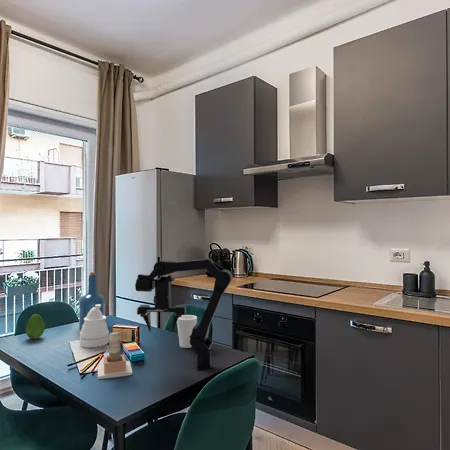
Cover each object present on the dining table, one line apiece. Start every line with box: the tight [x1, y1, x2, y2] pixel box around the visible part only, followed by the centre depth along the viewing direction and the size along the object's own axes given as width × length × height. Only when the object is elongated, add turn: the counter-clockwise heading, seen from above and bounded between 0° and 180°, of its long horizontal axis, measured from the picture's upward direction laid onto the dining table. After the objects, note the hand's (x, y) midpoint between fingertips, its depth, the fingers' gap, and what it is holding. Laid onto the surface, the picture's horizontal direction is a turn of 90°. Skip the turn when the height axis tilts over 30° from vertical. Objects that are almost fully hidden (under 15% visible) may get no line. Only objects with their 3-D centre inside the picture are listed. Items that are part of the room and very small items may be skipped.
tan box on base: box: [97, 354, 133, 380], centre depth 137 cm, size 12×12×4 cm
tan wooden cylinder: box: [108, 331, 121, 362], centre depth 137 cm, size 4×4×13 cm
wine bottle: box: [78, 271, 106, 329], centre depth 197 cm, size 14×13×30 cm
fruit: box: [25, 313, 46, 340], centre depth 176 cm, size 8×8×12 cm
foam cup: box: [176, 314, 198, 349], centre depth 167 cm, size 10×9×13 cm
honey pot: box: [79, 304, 110, 348], centre depth 170 cm, size 13×13×18 cm
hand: (161, 331), depth 144 cm, fingers open, 9 cm apart
